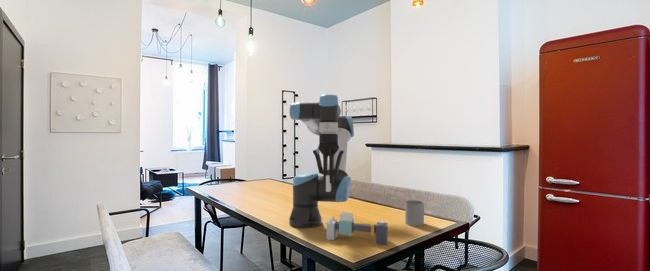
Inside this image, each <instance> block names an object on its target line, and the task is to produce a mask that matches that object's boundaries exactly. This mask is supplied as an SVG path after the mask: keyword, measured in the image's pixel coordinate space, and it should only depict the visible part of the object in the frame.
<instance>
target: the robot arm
mask: <svg viewBox="0 0 650 271" xmlns="http://www.w3.org/2000/svg"><path fill="white" fill-rule="evenodd" d="M289 105H290V106H289V116H290V119H291V120H295V121H301V122H302V123H303V124H304V125H306V128H307V130H308V131H310V133H312V134H313V135H317V136H319V137H318V138H319V141H318V143H319V144H318V146H317V148H316V149H315V150H314V149H313V150H312V153H313V154H314V157H315V161H316V166H317V169H318V172H306V173H301V174H297V175H295V176H294V177H293V178H292V179H293V181H292V182H293V183H292V209H291V212H290V215H289V218H288V221H289V225H290V226H292V227H294V228H295V227H296V228H300V229H301V228H304V229H307V228H314V227H319V226H320V225H322V223H323V222H322V220H323V219H322V215H321V212H320V209H319V202H326V203H327V202H329V203H334V202H335V203H346V202H348V200H349V198H350V193H351V185H352V179H351V177H350V176H349V174H348V173H347V171H346V170H347V169H346V168H347V155H348V154H347V153H348V142H349V141H350V140H351V139H352V138H353V137H354V136H355V135H354V134H355V133H354V132H355V131H354V123H353V122H354V121H353V118H352V116H350V115H342V116H341V113H342V111H341V110H342V108H341V106H340V105H339V97H338V96H337V95H336V94H322V95H320V96H319V101H317V102H292V103H291V104H289ZM320 153H321V154H320ZM321 155H322V160H321ZM328 158H329V160H328ZM322 161H323V162H322ZM319 174H321V175H319Z"/></svg>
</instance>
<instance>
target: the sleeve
mask: <svg viewBox="0 0 650 271" xmlns="http://www.w3.org/2000/svg"><path fill="white" fill-rule="evenodd" d="M338 222H339V230H338V235H344V236H352V235H353V233H354V232H355V231H352V223H355V218H354V212H347V211H345V212H344V211H342V212H340V213H339V220H338Z"/></svg>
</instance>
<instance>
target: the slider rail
mask: <svg viewBox="0 0 650 271" xmlns="http://www.w3.org/2000/svg"><path fill="white" fill-rule="evenodd" d="M388 225H389V224H388V222H385V221H384V220H379V221H377V222H375V221H372V222H371V224H368V223H357V222H356V223H355V222H354V223H352V231H354V232H361V233H370V236H375V244H376V245H382V246H383V245H385V246H387V244H388V241H389V240H388V239H389V238H388V237H389V236H388V229H389V226H388ZM338 231H339V221H338V219H335V216H332V217H331V218H330V219H329V220H328V221H327V223H326V240H327V241H328V240H329V241H335V239H336V238H337V237H338Z"/></svg>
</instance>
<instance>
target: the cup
mask: <svg viewBox="0 0 650 271" xmlns="http://www.w3.org/2000/svg"><path fill="white" fill-rule="evenodd" d="M404 203H405V205H404V206H405V219H404V220H405V221H404V223H405V224H406V225H408V226H411V227H422V226H424V225H425V202H423V201H421V200H412V199H411V200H406V201H405V202H404Z"/></svg>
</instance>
